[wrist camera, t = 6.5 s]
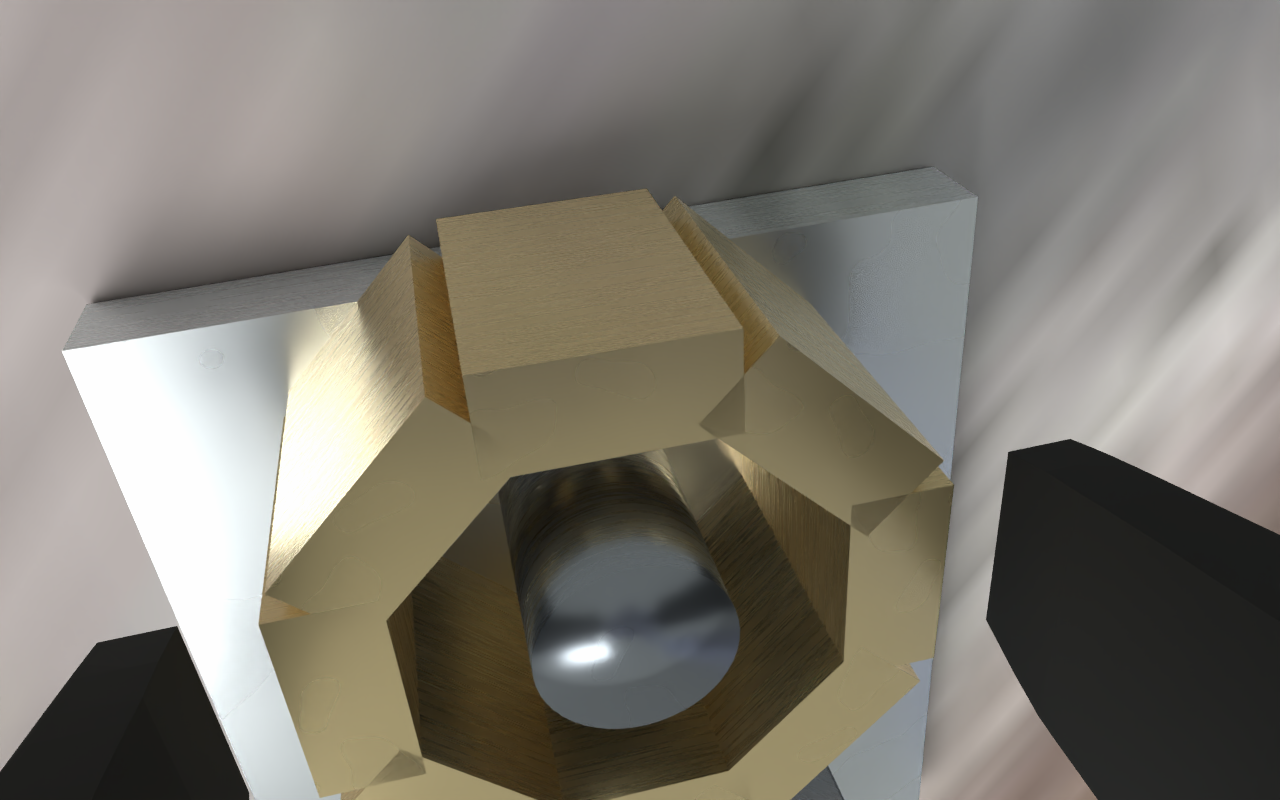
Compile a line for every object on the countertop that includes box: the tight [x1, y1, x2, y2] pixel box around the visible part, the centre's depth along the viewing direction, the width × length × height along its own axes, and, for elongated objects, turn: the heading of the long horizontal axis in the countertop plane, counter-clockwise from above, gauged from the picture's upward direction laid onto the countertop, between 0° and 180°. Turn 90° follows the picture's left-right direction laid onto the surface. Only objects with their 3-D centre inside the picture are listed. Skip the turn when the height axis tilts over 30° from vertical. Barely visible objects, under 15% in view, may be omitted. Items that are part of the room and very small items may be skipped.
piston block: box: [62, 167, 978, 800], centre depth 12 cm, size 9×12×4 cm
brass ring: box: [258, 188, 954, 800], centre depth 10 cm, size 6×6×3 cm
